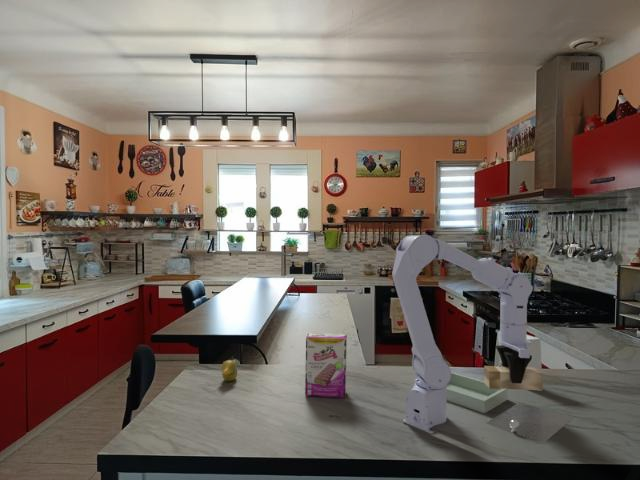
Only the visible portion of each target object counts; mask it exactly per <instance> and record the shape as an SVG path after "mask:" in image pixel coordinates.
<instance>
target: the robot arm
mask: <svg viewBox="0 0 640 480" xmlns="http://www.w3.org/2000/svg"><path fill="white" fill-rule="evenodd" d="M395 250H396V256H395V259H394V264H393V268H392V272H391V277H392V280H393V284H394V287H395V290H396V294H397V297H398V299H399V303H400V307H401V311H402V313H403V317H404V320H405V323H406V327H407V331H408V333H409V337H410V340H411V344H412V347H411V353H412V361H411V366H412V369H413V371H414V372H415V373H416V374H415V375H416V376H415V378H414V385H413V387H412V388H411V389H410V390H409V391H408V392H407V393H406V394H407V395H406V398H405V399H406V400H405V401H406V402H405V404H406V405H405V409H406V411H405V414H406V415H405V418H403V419H402V421H403V423H405V424H407V425H409V426H412V427H415V428H417V429H419V430H422V432H423V431H424V432H426V433H428V434H431V435H432V434H435V433H437V431H436V430H434V429H432V428H433V427H435V426H437V425H442V424H445V422H447V409H448V408H447V407H448V405H447V403H448V401H447V384H448V383H449V381H450V379H451V372H452V369H451V368H450V366H449V365H448V364H447V363H446V361H445V360H444V357H443V354H442V352H441V351H440V348H439V347H438V346H437V344H436V341H435V339H434V334H433V331H432V327H431V326H430V322H429V319H428V316H427V311H426V309H425V305H424V302H423V299H422V295H421V291H420V289H419V284H418V282H417V278H418V276H419V275H420V273H421V272H422V269H423V268H425V267H426V266H427V265H429V264H430V263H431V262H432V261H433V260H444V261H447V262H449V263H452V264H453V265H456V266H458V267H460V268H463V269H465V270H466V271H469V272H470V273H471V276H472V278H473V279H474V280H475V281H478V282H480V283H481V284H483V285H486V286H487V287H490V288H492V289H494V290H496V291H497V292H498V293H499V294H500V298H499V300H500V301H499V302H500V304H499V307H500V310H499V311H500V314H499V316H500V317H499V321H500V322H499V323H500V324H499V333H498V343H499V344H498V345H497V344H496V345H495V348H496V350H497V353H498V355H499V358H500V361H501V367H509V372H510V379H511V382H512V383H520V384H521V383H522V380H523V377H524V373H525V370H526V367H527V365H528V364H529V362H530V361H531V359H532V356H531V355H530V350H529V349H528V345H532V342H530V341H527V335H528V334H527V332H528V331H527V328H528V326H527V323H528V319H527V318H528V317H527V316H528V313H527V312H528V308H527V307H528V303H529V297H530V296H531V294H532V292H533V289H534V286H533V285H532V284H531V280H530V279H529V278H528V277H527V276H526V275H524V274H523V273H522V274H521V273H516V272H514V271H513V270H514V269H513V268H511V267H509V266H506V267H505V266H503V265H501V264H499V263H497V262H496V261H497V259H495V258H494V257H488V258H487V257H482V258H479V259H478V258H475V257H473V256H472V255H470V254H468V253H467V252H464V251H462V250H460V249H459V248H457V247H455V246H453V245H451V244H450V243H448V242H446V241H444V240H441V239H439V238H434V237H432V236H431V235H429V234H419V235H413V234H410V235H407V236H405V237H404V238H403V239H402V240H401V241H400V242H399V244H398V246H397V247H396V249H395Z"/></svg>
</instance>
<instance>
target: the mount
mask: <svg viewBox="0 0 640 480" xmlns="http://www.w3.org/2000/svg"><path fill="white" fill-rule="evenodd" d="M571 420H573V417H570V416H566V415H562V414H561V413H557V412H554V411H550V410H547V409H543V408H540V407H537V406H534V405H530V404H527V403H524V402H522V401H520V402H518V403H516V404H514V405H513V406H511V407H510V408H508V409H506V410H505V411H503V412H502V413H500V414H498V415H497V416H495V417H493V418H492V419H490V420H489V421H487V422H485V423H486V424H487V425H489V426H492V427H495V428H498V429H499V430H503V431H506V432H509V433H510V434H514V435H517V436H520V437H522V438H524V439H528V440H530V441H533V442H537V443H538V444H542V445H543V444H545V443H546V442H547V441H548V440H549V439H550V438H551V437H553V436H554V435H555V434H556V433H557V432H558V431H560V430H561V429H562V428H563V427H564V426H565V425H567V423H569V422H570V421H571Z"/></svg>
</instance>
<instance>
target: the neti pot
mask: <svg viewBox="0 0 640 480" xmlns="http://www.w3.org/2000/svg"><path fill="white" fill-rule="evenodd" d="M220 369H221V372H222V378H223V380H224V381H226V382H233V381H234V380H235V379H236V378H237V376H238V368H237V364H236V359H233V360H225V361H223V362H222V364H221V368H220Z"/></svg>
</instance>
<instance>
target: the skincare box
mask: <svg viewBox="0 0 640 480" xmlns="http://www.w3.org/2000/svg"><path fill="white" fill-rule="evenodd" d="M527 341H530V342H532V345H528V349H529V350H530V355H531V356H532V359H531V361H530V362H529V364H528V365H527V367H531V368H536V369H538V370H539V371H540V372H542V373H543V370H542V366H543V365H542V349H541V348H542V347H541V346H542V345H541V338H540V337H536V336H532V335H530V334H529V335H528V334H527ZM536 391H538V392H543V390H536Z"/></svg>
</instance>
